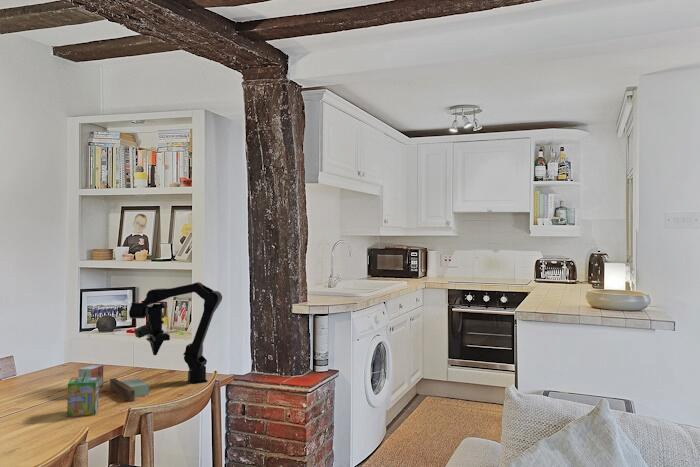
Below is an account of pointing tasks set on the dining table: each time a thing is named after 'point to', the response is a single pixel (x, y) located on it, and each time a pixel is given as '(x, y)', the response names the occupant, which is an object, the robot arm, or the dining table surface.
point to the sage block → (138, 386)
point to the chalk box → (83, 396)
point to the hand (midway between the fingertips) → (154, 355)
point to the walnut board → (122, 390)
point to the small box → (93, 373)
